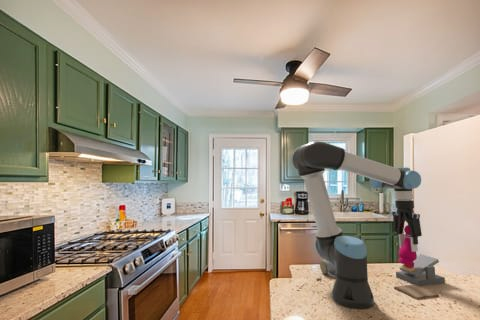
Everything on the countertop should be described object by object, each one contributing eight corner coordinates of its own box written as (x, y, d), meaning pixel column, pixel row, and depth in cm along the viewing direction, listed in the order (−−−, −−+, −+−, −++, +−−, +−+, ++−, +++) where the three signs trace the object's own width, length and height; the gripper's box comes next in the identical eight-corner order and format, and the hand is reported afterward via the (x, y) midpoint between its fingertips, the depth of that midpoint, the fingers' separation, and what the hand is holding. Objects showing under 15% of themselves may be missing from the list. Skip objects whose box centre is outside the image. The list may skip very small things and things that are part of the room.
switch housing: (418, 286, 116) (417, 268, 117) (395, 276, 128) (394, 260, 129) (445, 283, 119) (444, 265, 120) (421, 274, 132) (419, 258, 132)
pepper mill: (418, 268, 119) (425, 224, 122) (402, 263, 119) (410, 220, 122) (408, 264, 126) (415, 223, 129) (393, 260, 127) (401, 219, 130)
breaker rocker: (417, 278, 118) (414, 270, 118) (401, 271, 127) (398, 264, 127) (440, 264, 122) (436, 256, 122) (422, 258, 131) (419, 251, 131)
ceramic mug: (319, 271, 136) (318, 256, 137) (333, 270, 138) (333, 255, 139) (330, 279, 126) (329, 263, 127) (345, 278, 128) (344, 261, 128)
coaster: (416, 299, 103) (416, 297, 103) (394, 288, 114) (394, 286, 114) (438, 296, 106) (438, 294, 106) (415, 286, 117) (414, 284, 117)
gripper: (428, 200, 117) (433, 253, 116) (394, 198, 136) (398, 244, 134) (415, 201, 116) (419, 255, 114) (382, 199, 134) (386, 245, 132)
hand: (408, 249), depth 124 cm, fingers closed on pepper mill, 6 cm apart
